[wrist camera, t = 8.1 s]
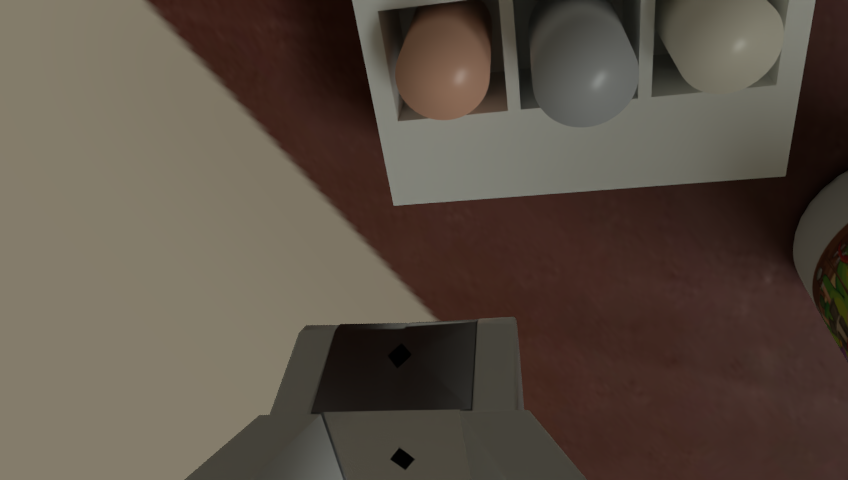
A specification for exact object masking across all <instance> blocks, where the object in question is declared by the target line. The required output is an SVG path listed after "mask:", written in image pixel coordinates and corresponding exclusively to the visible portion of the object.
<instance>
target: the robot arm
mask: <svg viewBox="0 0 848 480" xmlns="http://www.w3.org/2000/svg"><path fill="white" fill-rule="evenodd" d="M185 480H587V479H586V478H585V477H584V476H583V475H582V473H581V472H580V471H579V470H578V469H577V467H576V466H575V465H574V464H573V463H572V461H571V460H570V459H569V458H568V457H567V455H566V454H565V453H564V452H563V451H562V449H561V448H560V447H559V446H558V445H557V443H556V442H555V441H554V440H553V439H552V437H551V436H550V435H549V434H548V433H547V431H546V430H545V429H544V428H543V427H542V425H541V424H540V423H539V422H538V421H537V419H536V418H535V417H534V416H533V415H532V413H531V412H530V411H529V410H524V405H523V391H522V378H521V366H520V355H519V343H518V331H517V323H516V319H515V318H514V317H502V318H485V319H479V320H478V319H476V320H456V321H436V322H416V323H387V324H386V323H383V324H340V325H310V326H309V325H308V326H305V327H304V328H303V330H301V332H300V333H299V335H298V338H297V340H296V343H295V346H294V349H293V351H292V354H291V357H290V360H289V362H288V365H287V368H286V371H285V374H284V377H283V379H282V382H281V385H280V387H279V390H278V393H277V396H276V399H275V402H274V404H273V407H272V410H271V412H270V415H259V416H258V417H257V418H256V419H254V420H253V421H252V422H251V423H250V424H249V425H248V426H246V427H245V428H244V429H243V430H242V431H241V432H239V433H238V434H237V435H236V436H235V437H234V438H232V439H231V440H230V441H229V442H228V443H227V444H226V445H224V446H223V447H222V448H221V449H220V450H219V451H217V452H216V453H215V454H214V455H213V456H211V457H210V458H209V459H208V460H207V461H206V462H204V463H203V464H202V465H201V466H200V467H199V468H198V469H196V470H195V471H194V472H193V473H192V474H191V475H189V476H188V477H187V478H186V479H185Z"/></svg>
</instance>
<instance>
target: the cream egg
mask: <svg viewBox="0 0 848 480" xmlns="http://www.w3.org/2000/svg"><path fill="white" fill-rule="evenodd" d="M654 27H655V29H656V31H657V33H658V34H659V36H660V38H661V40H662V41H663V43H664V45H665V47H666V49H667V50H668V52H669V54H670V56H671V57H672V59H673V61H674V63H675V65H676V66H677V68H678V70H679V72H680V73H681V75H682V77H683V78H684V79H685V81H686V82H687V83H688V84H690V85H691V86H692V87H694V88H696V89H698V90H700V91H703V92H706V93H710V94H727V93H732V92H736V91H739V90H742V89H744V88H746V87H748V86H750V85H752V84H753V83H755V82H757V81H758V80H759V79H760V78H762V77H763V76H764V75H765V74H766V73H767V72H768V71H769V70H770V68H771V67H772V66H773V65H774V63H775V62H776V60H777V58H778V56H779V54H780V51H781V49H782V45H783V41H784V27H783V23H782V20H781V17H780V15H779V13H778V12H777V10H776V9H775V8H774V7H773V6H772V5H771V4H770V3H769V2H768V1H767V0H655V23H654Z"/></svg>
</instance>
